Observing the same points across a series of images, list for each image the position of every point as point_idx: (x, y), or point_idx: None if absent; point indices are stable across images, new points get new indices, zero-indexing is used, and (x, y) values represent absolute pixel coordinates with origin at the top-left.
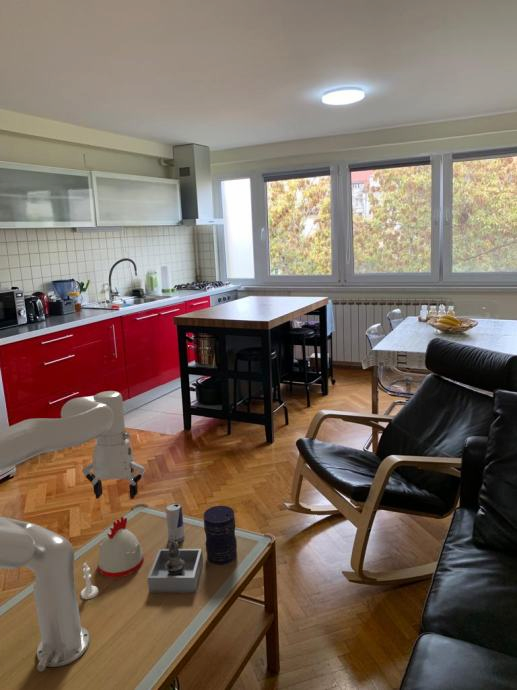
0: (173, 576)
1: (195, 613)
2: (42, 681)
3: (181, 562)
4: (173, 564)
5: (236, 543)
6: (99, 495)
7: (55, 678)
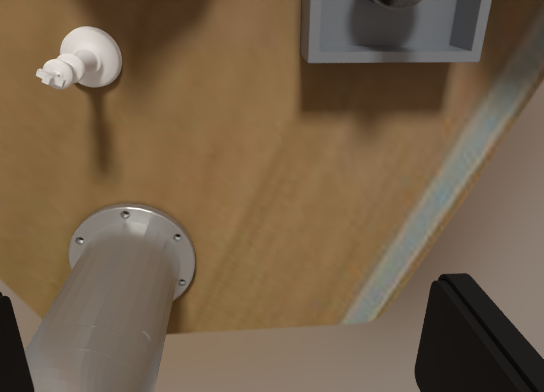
0: (404, 55)
1: (451, 140)
2: None
3: None
4: None
5: None
6: (19, 386)
7: None
